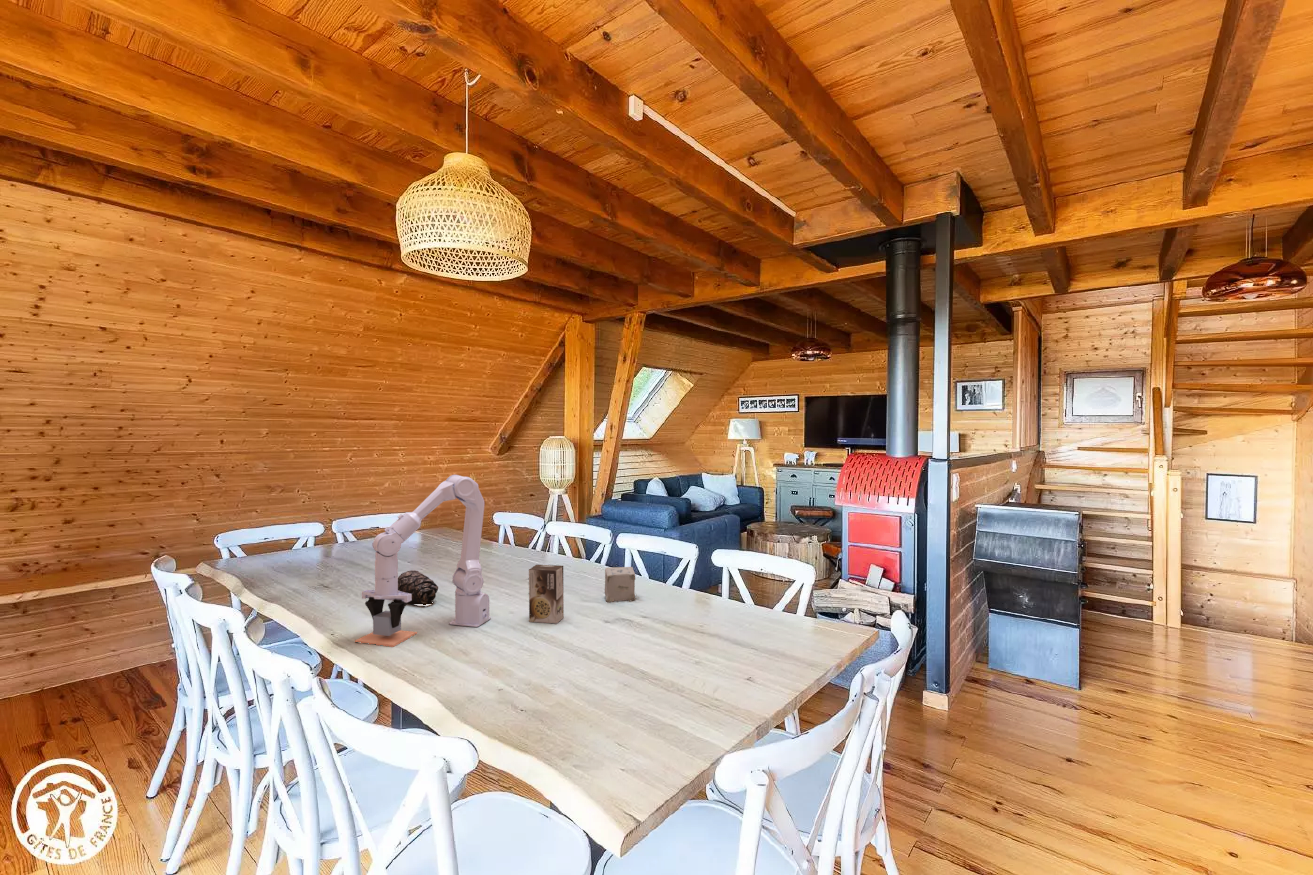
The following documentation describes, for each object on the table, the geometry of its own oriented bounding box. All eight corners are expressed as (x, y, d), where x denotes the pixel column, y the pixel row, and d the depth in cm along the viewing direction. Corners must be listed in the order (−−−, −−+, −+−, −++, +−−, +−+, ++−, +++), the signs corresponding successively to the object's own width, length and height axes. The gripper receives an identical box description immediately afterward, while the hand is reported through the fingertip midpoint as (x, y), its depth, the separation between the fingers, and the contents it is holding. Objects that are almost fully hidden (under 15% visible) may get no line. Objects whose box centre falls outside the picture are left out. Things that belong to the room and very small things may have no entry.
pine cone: (424, 609, 187) (424, 578, 187) (388, 601, 196) (388, 571, 196) (450, 601, 196) (450, 571, 196) (414, 593, 205) (414, 565, 205)
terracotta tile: (417, 634, 165) (417, 631, 165) (393, 647, 155) (393, 644, 155) (380, 630, 168) (380, 628, 168) (354, 642, 158) (354, 640, 158)
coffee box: (564, 617, 180) (564, 565, 180) (556, 624, 174) (556, 570, 174) (536, 615, 182) (536, 563, 182) (528, 622, 176) (528, 568, 176)
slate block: (401, 629, 164) (401, 612, 164) (388, 635, 159) (388, 617, 159) (385, 628, 165) (385, 610, 165) (373, 634, 160) (373, 616, 160)
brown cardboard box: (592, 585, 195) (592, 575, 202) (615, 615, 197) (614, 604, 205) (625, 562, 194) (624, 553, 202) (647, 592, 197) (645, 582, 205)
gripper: (353, 578, 159) (353, 628, 159) (399, 582, 156) (399, 633, 156) (371, 572, 166) (372, 619, 166) (416, 575, 163) (416, 624, 163)
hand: (386, 625), depth 162 cm, fingers closed on slate block, 5 cm apart
